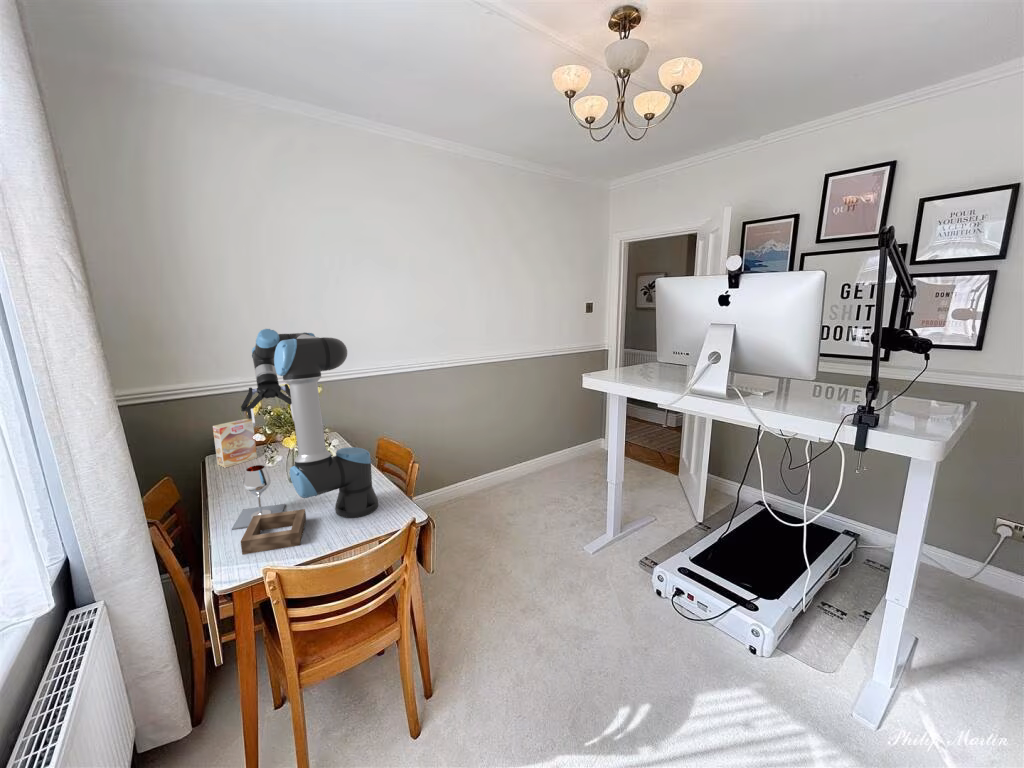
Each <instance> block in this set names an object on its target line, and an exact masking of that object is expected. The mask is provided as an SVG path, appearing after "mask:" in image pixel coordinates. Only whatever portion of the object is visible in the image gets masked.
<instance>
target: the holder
mask: <svg viewBox="0 0 1024 768" xmlns="http://www.w3.org/2000/svg"><path fill="white" fill-rule="evenodd" d="M306 524H307V515H306V508H301V509H296V510H295V509H294V510H288V511H283V512H280V513H273V514H265V515H258V516H253V518H252V520H251V522H250V524H249V526H248V528H246V530H245V531H244V534H243V536H242V538H241V539H240V547H241V549H240V550H241V555H247V554H249V555H250V554H255V553H260V552H261V553H262V552H267V551H272V550H273V551H274V550H279V549H280V550H281V549H285V548H290V547H298V546H300V545H301V543H302V539H303V534H304V532H305V528H306V527H305V526H306ZM289 527H291V529H288V530H282V531H275V532H267V533H261V532H262V531H267V530H275V529H283V528H289Z"/></svg>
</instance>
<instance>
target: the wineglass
mask: <svg viewBox="0 0 1024 768" xmlns="http://www.w3.org/2000/svg"><path fill="white" fill-rule="evenodd" d="M270 485H271V477H270V475H269V472H268V470H267V468H266V466H265V465H263V464H259V465H258V464H257V465H256V464H255V465H252V466H249V467H246V469H245V473H244V478H243V488H244V490H245V491H246V492H247V493H249V494H250V495H254V496H255V497H257V502H258V507H259V511H257V512H255V513H253V514H252V515H251V518H253V516H258V515H265V514H271V511H270V510H262V507H263V506H262V501H261V496H262V495H263V493H265V491H267V489H268V488H269V486H270Z"/></svg>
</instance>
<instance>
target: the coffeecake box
mask: <svg viewBox="0 0 1024 768" xmlns="http://www.w3.org/2000/svg"><path fill="white" fill-rule="evenodd" d="M212 431H213V432H212V433H213V439H214V446H215V447H214V448H215V449H214V450H215V455H216V463H217V466H219V465H220V466H219V467H221V466H222V467H221V468H223V467H224V469H226V467H227V468H230V467H232V466H236V465H239V464H243V463H245V462H249V460H250V461H252V459H253V460H255V459H254V458H257V459H258V455H257V445H256V439H255V440H253V439H252V437H253V436H254V435H255V427H253V423H252V419H249V418H243V419H238V420H233V421H228V422H224V423H219V424H215V425H212Z"/></svg>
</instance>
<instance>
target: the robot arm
mask: <svg viewBox="0 0 1024 768" xmlns="http://www.w3.org/2000/svg"><path fill="white" fill-rule="evenodd" d="M347 348H348V347H347V346H346V344H345V343H344V342H343V341H342V340H340V339H338V338H335V337H327V336H326V337H323V336H322V337H318V336H315V334H314V333H312V332H300V333H299V332H297V333H295V332H293V333H279V332H277V331H276V330H274V329H271V328H264V329H261V330H260V331H259V332H258V333H257V336H256V338H255V345H254V347H252V349H251V353H252V354H251V358H252V361H253V367H254V374H255V379H256V386H257V388H252V387H249V388H248V393H247V395H246V397H245V398H244V401H243V402H242V404H241V406H240V407H241V408H240V410H241V412H246V414H247V417H248V418H247V419H249V420H252V423H253V427H254V428H255V427H256V419H255V414H254V409H255V407H256V406H257V405H258V404H259V403H261V401H263V399H275V398H277V399H280V400H282V401H283V402H285V403H286V404H288V405H290V411H291V417H292V422H293V423H294V428H295V429H294V430H295V436H296V444H297V451H298V452H297V453H298V454H297V456H296V458H294V465H293V466H291V467H290V468H289V476H290V479H291V480H290V481H291V483H292V486H293V488H294V490H295V492H296V493H297V494H298V496H299V497H300V498H302V499H308V498H312V497H318V496H320V495H322V494H325V493H329V492H332V491H336V490H338V494H337V497H336V500H335V504H334V505H335V506H334V507H335V508H334V509H335V510H334V511H335V513H336V515H337V516H338V517H341V518H345V519H347V518H348V519H353V518H361V517H364V516H367V515H369V514H371V513H373V512H375V511H376V510H377V508H378V507H379V499H378V496H377V494H376V492H375V490H374V487H373V480H372V479H373V478H372V475H373V474H372V459H371V454H370V451H369V450H367V449H365V448H362V447H357V446H356V447H354V446H352V447H351V446H350V447H343V448H339V449H338V450H336V453H335V456H332V452H330V451H328V449H327V448H326V439H325V432H324V424H323V417H322V409H321V402H320V393H319V386H318V382H319V380H320V379H321V378H322V372H326V371H331V370H334V369H337V368H339V367H340V366H342V365H343V364H344V363H345V362H346V360H347V357H348V349H347ZM278 376H280V377H282V381H283V382H285V383H286V384H284V385H282V386H281V385H280V384H279V379H278ZM282 391H284V392H285V393H286V394H284V393H283V392H282ZM256 393H257V396H255V398H254V399H253V400H252V398H253V396H254V395H255V394H256ZM251 400H252V401H251Z"/></svg>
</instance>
